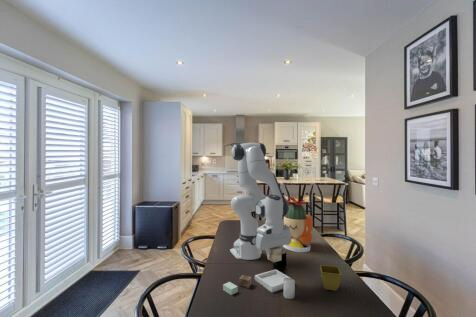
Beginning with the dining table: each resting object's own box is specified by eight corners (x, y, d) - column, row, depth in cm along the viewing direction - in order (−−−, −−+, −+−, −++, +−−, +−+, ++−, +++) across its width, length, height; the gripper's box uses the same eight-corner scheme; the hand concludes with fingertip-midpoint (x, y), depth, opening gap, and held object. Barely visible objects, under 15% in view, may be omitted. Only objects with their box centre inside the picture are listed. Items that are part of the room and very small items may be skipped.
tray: (254, 280, 128) (254, 275, 128) (275, 273, 136) (275, 269, 136) (271, 292, 116) (271, 287, 116) (294, 284, 124) (294, 279, 124)
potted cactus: (298, 255, 162) (299, 201, 162) (275, 245, 181) (276, 196, 181) (320, 249, 174) (321, 198, 174) (297, 240, 193) (297, 194, 193)
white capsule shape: (281, 294, 114) (281, 279, 114) (288, 291, 117) (288, 276, 117) (289, 300, 110) (289, 284, 110) (296, 296, 113) (297, 281, 113)
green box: (222, 290, 118) (223, 284, 118) (229, 288, 121) (229, 281, 121) (231, 296, 114) (231, 289, 114) (237, 293, 117) (237, 286, 117)
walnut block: (239, 286, 122) (239, 278, 122) (242, 282, 126) (242, 274, 126) (248, 288, 120) (248, 280, 120) (251, 285, 124) (251, 276, 124)
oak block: (267, 259, 127) (267, 247, 127) (275, 257, 129) (275, 245, 129) (273, 262, 122) (273, 250, 122) (281, 260, 125) (281, 248, 125)
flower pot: (338, 284, 124) (338, 266, 124) (341, 293, 116) (341, 274, 116) (319, 282, 126) (319, 264, 126) (321, 291, 118) (321, 272, 118)
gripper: (285, 223, 134) (285, 249, 134) (254, 229, 124) (254, 257, 123) (293, 226, 129) (294, 253, 129) (261, 232, 118) (261, 261, 118)
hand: (274, 255), depth 126 cm, fingers closed on oak block, 5 cm apart
